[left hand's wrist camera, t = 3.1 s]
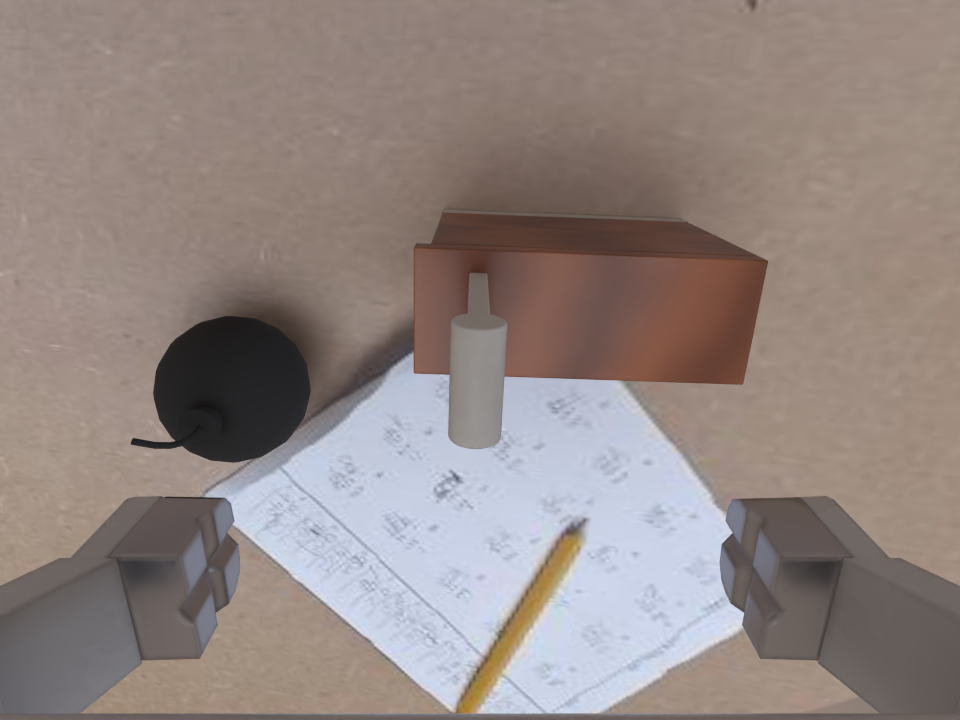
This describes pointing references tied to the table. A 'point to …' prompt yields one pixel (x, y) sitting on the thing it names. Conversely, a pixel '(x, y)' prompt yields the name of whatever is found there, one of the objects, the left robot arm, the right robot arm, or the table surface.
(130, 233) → the table surface
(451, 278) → the lid
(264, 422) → the bomb
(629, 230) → the chest
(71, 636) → the left robot arm
